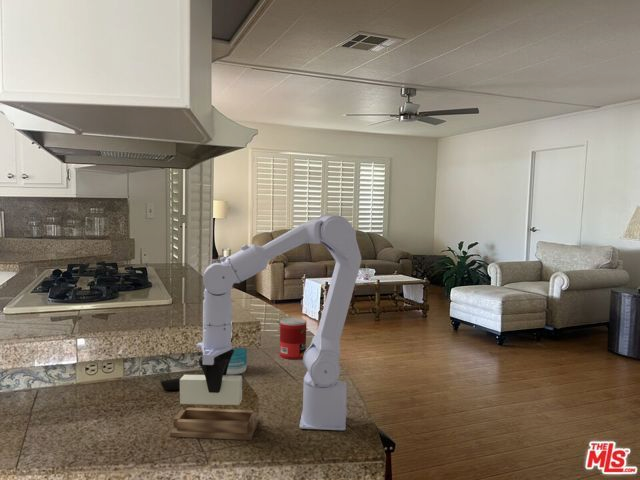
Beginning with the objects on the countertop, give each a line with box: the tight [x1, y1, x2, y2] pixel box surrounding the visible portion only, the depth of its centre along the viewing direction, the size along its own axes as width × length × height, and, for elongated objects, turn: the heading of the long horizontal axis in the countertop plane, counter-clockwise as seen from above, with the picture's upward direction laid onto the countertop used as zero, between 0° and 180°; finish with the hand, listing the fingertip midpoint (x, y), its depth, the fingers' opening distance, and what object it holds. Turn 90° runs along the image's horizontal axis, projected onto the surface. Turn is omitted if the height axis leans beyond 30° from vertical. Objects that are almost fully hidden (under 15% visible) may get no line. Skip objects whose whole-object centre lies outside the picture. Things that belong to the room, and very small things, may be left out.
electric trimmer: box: [159, 377, 182, 391], centre depth 126 cm, size 4×16×3 cm, turn 116°
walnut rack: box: [169, 407, 259, 441], centre depth 103 cm, size 16×9×3 cm, turn 88°
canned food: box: [279, 317, 307, 360], centre depth 153 cm, size 8×8×11 cm
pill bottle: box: [226, 347, 248, 376], centre depth 138 cm, size 8×7×14 cm
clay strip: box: [179, 374, 243, 406], centre depth 103 cm, size 12×3×5 cm, turn 88°
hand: (216, 388), depth 103 cm, fingers closed on clay strip, 3 cm apart
